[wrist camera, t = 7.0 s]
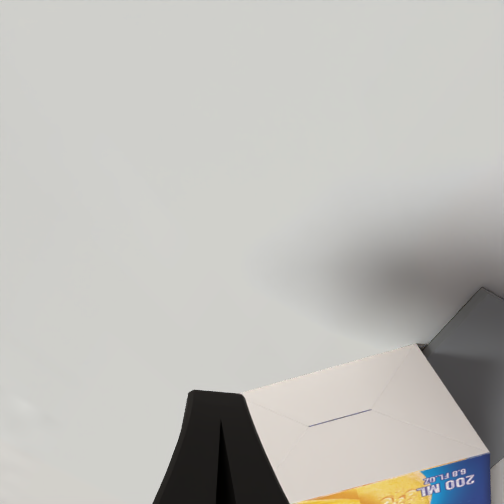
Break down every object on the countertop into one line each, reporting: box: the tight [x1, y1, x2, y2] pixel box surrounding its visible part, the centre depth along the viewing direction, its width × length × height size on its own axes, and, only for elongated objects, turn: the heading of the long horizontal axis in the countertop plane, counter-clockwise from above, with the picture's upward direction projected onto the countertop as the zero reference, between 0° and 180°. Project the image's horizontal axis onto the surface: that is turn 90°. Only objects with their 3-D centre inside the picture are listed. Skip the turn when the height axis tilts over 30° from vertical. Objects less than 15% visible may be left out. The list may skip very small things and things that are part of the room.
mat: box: [422, 288, 504, 468], centre depth 24 cm, size 11×11×1 cm
